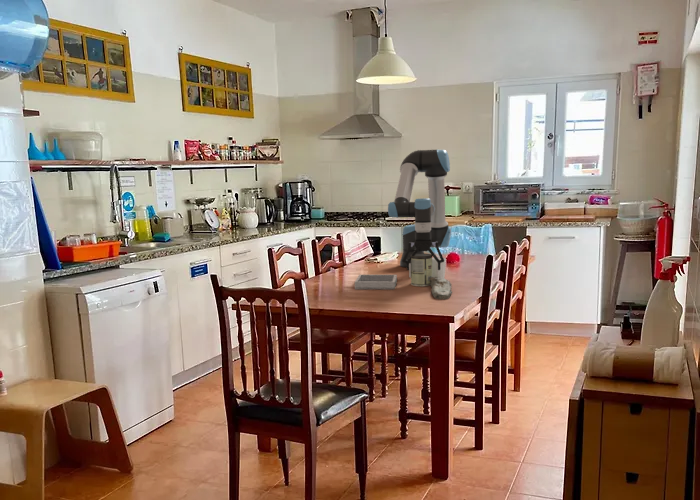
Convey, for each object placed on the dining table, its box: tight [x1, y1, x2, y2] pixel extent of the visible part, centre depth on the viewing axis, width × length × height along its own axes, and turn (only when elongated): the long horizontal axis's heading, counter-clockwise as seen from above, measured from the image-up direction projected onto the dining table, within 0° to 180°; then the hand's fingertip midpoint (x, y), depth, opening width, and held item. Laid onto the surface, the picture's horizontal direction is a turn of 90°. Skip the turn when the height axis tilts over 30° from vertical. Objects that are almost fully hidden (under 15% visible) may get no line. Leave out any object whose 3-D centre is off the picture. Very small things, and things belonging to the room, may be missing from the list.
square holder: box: [354, 274, 398, 291], centre depth 283 cm, size 18×18×4 cm
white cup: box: [432, 256, 447, 279], centre depth 297 cm, size 8×8×10 cm
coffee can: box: [410, 253, 433, 287], centre depth 283 cm, size 10×10×14 cm
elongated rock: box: [430, 277, 453, 300], centre depth 268 cm, size 35×5×10 cm
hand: (423, 277), depth 282 cm, fingers open, 12 cm apart
